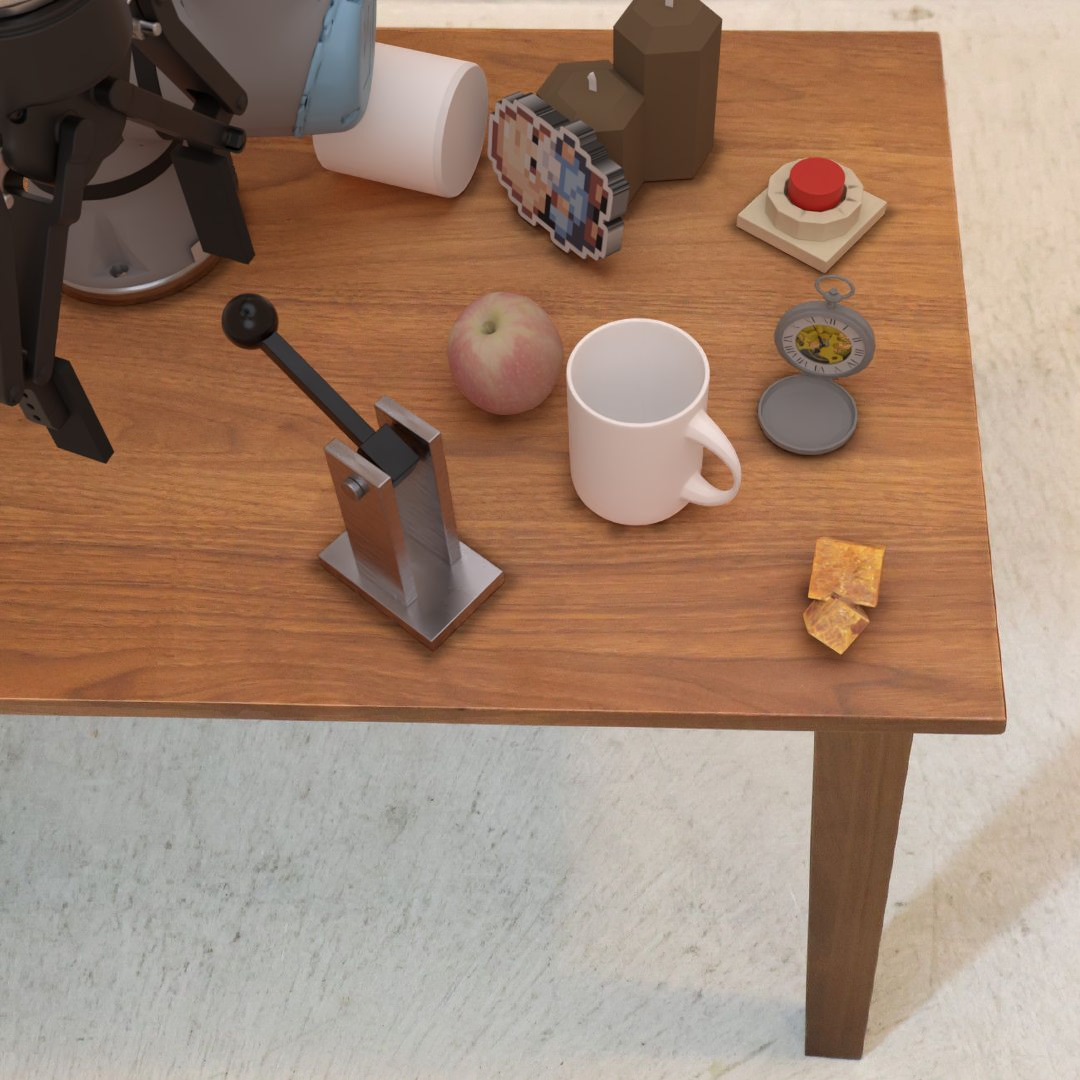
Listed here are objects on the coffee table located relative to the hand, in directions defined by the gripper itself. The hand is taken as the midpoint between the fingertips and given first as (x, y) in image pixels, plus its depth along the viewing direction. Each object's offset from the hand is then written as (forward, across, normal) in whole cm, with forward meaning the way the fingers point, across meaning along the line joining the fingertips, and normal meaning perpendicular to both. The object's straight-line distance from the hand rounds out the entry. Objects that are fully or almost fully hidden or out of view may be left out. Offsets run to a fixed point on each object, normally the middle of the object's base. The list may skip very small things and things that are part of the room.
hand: (161, 347), depth 69 cm
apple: (+24, +21, -8) cm, 33 cm away
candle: (+24, +47, -7) cm, 53 cm away
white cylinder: (+20, +40, +3) cm, 45 cm away
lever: (+11, +7, -3) cm, 13 cm away
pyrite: (+24, +12, -34) cm, 43 cm away
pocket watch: (+24, +27, -28) cm, 46 cm away
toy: (+24, +36, -5) cm, 44 cm away
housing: (+24, +44, -23) cm, 55 cm away
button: (+21, +44, -23) cm, 54 cm away
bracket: (+24, +5, -8) cm, 25 cm away
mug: (+24, +17, -20) cm, 36 cm away
